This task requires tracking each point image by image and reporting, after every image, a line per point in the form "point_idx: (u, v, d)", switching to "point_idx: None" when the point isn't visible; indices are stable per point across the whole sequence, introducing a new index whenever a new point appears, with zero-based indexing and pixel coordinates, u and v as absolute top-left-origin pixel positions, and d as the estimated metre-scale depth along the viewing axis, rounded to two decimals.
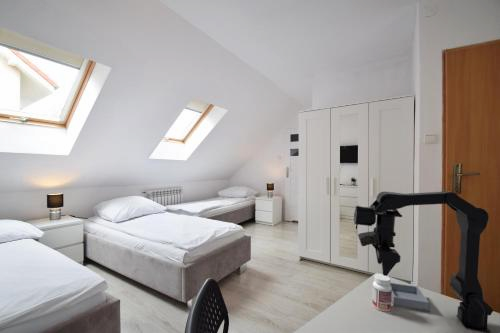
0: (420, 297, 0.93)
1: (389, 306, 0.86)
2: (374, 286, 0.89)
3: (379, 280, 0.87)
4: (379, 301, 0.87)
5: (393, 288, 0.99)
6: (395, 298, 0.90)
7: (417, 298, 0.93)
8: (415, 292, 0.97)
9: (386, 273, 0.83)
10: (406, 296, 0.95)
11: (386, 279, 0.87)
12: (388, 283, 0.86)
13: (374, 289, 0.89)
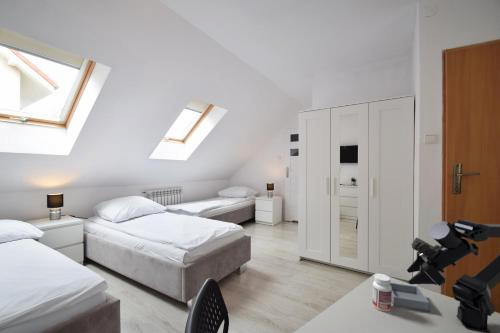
0: (420, 297, 0.93)
1: (389, 306, 0.86)
2: (374, 286, 0.89)
3: (379, 280, 0.87)
4: (379, 301, 0.87)
5: (393, 288, 0.99)
6: (395, 298, 0.90)
7: (417, 298, 0.93)
8: (415, 292, 0.97)
9: (413, 282, 0.80)
10: (406, 296, 0.95)
11: (386, 279, 0.87)
12: (388, 283, 0.86)
13: (374, 289, 0.89)
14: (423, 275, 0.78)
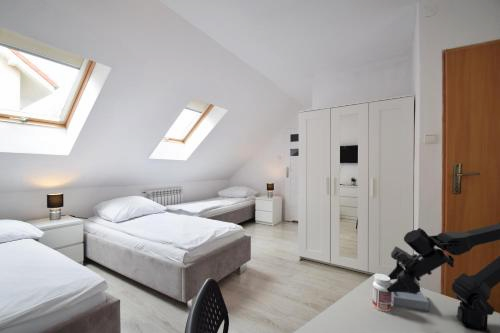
0: (420, 297, 0.93)
1: (389, 306, 0.86)
2: (374, 286, 0.89)
3: (379, 280, 0.87)
4: (379, 301, 0.87)
5: None
6: (395, 298, 0.90)
7: (417, 298, 0.93)
8: None
9: (390, 290, 0.83)
10: (406, 296, 0.95)
11: (386, 279, 0.87)
12: (388, 283, 0.86)
13: (374, 289, 0.89)
14: (400, 283, 0.81)
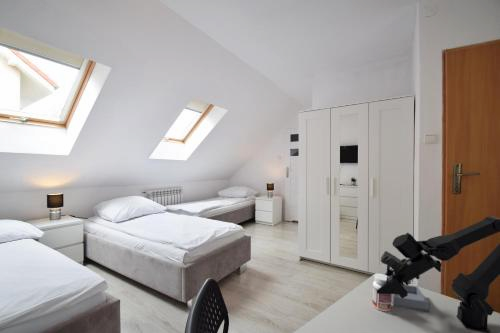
0: (420, 297, 0.93)
1: (389, 306, 0.86)
2: (374, 286, 0.89)
3: (379, 280, 0.87)
4: (379, 301, 0.87)
5: None
6: (395, 298, 0.90)
7: (417, 298, 0.93)
8: (415, 292, 0.97)
9: (380, 292, 0.86)
10: (406, 296, 0.95)
11: (386, 279, 0.87)
12: None
13: (374, 289, 0.89)
14: (389, 286, 0.84)
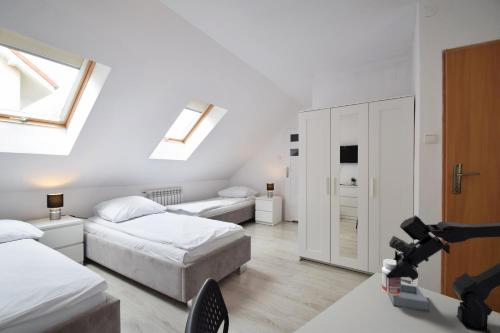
0: (420, 297, 0.93)
1: (399, 290, 0.87)
2: (383, 271, 0.89)
3: (389, 265, 0.88)
4: (389, 286, 0.87)
5: None
6: (395, 298, 0.90)
7: (417, 298, 0.93)
8: (415, 292, 0.97)
9: (390, 276, 0.87)
10: (406, 296, 0.95)
11: (395, 263, 0.88)
12: None
13: (383, 274, 0.89)
14: (399, 269, 0.85)
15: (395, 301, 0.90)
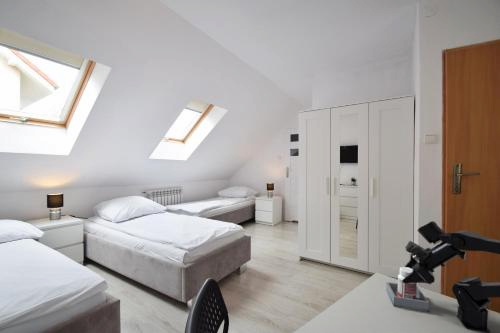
0: (420, 297, 0.93)
1: (414, 297, 0.91)
2: (399, 278, 0.93)
3: (405, 273, 0.91)
4: (405, 293, 0.91)
5: (393, 288, 0.99)
6: (395, 298, 0.90)
7: (417, 298, 0.93)
8: None
9: (406, 281, 0.89)
10: None
11: None
12: None
13: (400, 281, 0.93)
14: (415, 275, 0.87)
15: (395, 301, 0.90)
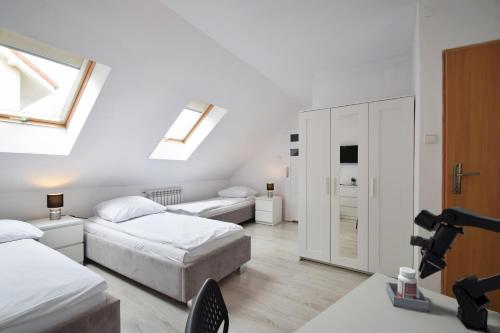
0: (420, 297, 0.93)
1: (414, 297, 0.91)
2: (400, 278, 0.93)
3: (405, 273, 0.91)
4: (405, 293, 0.91)
5: (393, 288, 0.99)
6: (395, 298, 0.90)
7: (417, 298, 0.93)
8: None
9: (423, 276, 0.85)
10: None
11: (412, 271, 0.91)
12: (414, 275, 0.91)
13: (400, 281, 0.93)
14: (428, 265, 0.84)
15: (395, 301, 0.90)
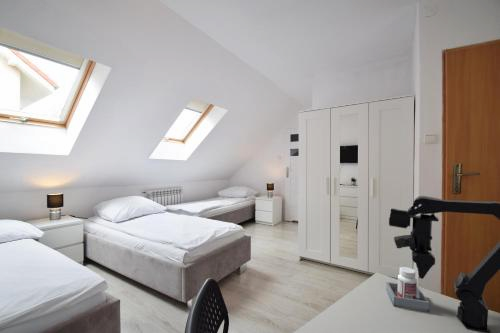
0: (420, 297, 0.93)
1: (414, 297, 0.91)
2: (399, 278, 0.93)
3: (405, 273, 0.91)
4: (405, 293, 0.91)
5: (393, 288, 0.99)
6: (395, 298, 0.90)
7: (417, 298, 0.93)
8: None
9: (422, 276, 0.84)
10: None
11: (412, 271, 0.91)
12: (413, 275, 0.91)
13: (399, 281, 0.93)
14: (421, 264, 0.84)
15: (395, 301, 0.90)
